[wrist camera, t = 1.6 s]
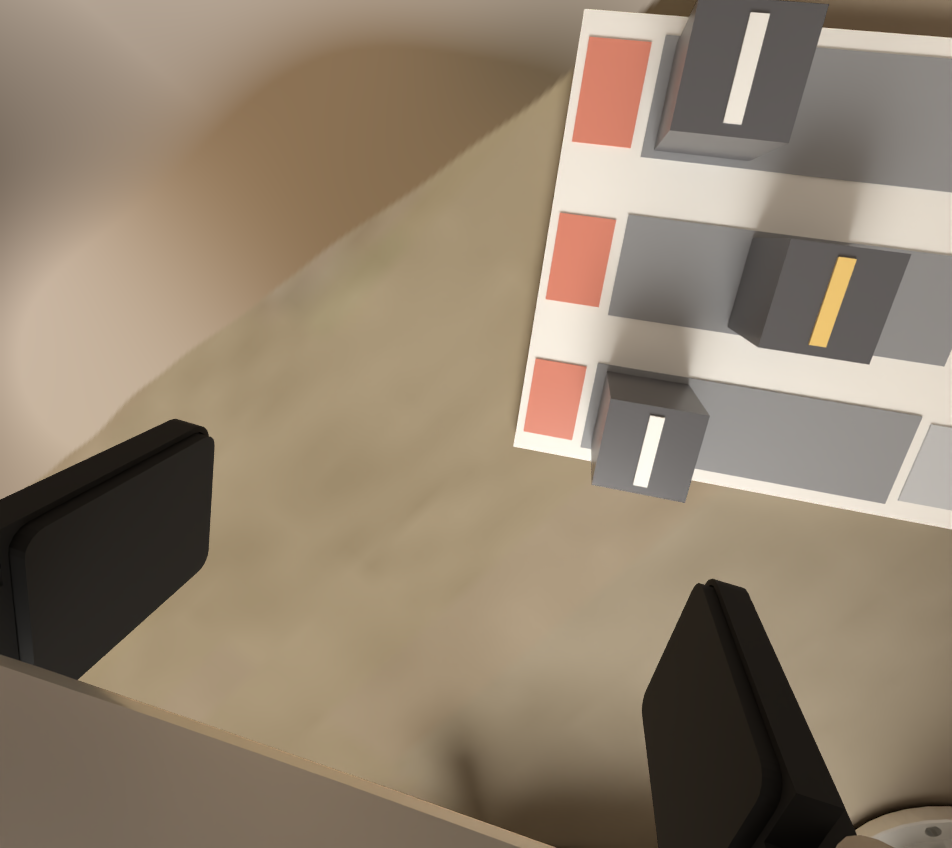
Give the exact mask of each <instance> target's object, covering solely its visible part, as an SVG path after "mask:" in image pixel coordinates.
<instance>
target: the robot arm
mask: <svg viewBox="0 0 952 848" xmlns="http://www.w3.org/2000/svg"><path fill="white" fill-rule="evenodd" d="M213 463H214V440H213V438H211V437H209V434H208V432H207V430H206V429H205V428H204V427H202V426H198V425H195V424H192V423H188V422H185V421H182V420H178V419H172V420H169V421H167V422H165V423H163V424H161V425H159V426H157V427H154V428H152V429H150V430H148V431H146V432H144V433H142V434H139V435H137V436H135V437H133V438H131V439H129V440H127V441H125V442H122V443H120V444H118V445H116V446H114V447H112V448H110V449H107V450H105V451H103V452H101V453H99V454H97V455H95V456H93V457H90V458H88V459H86V460H84V461H82V462H80V463H78V464H75V465H73V466H71V467H69V468H67V469H65V470H63V471H61V472H58V473H56V474H54V475H52V476H50V477H48V478H46V479H43V480H41V481H39V482H37V483H35V484H33V485H31V486H28V487H26V488H24V489H22V490H20V491H18V492H16V493H14V494H11V495H9V496H7V497H5V498H3V499H1V500H0V848H556V847H553V846H550V845H547V844H545V843H542V842H539V841H536V840H533V839H531V838H528V837H525V836H522V835H519V834H516V833H514V832H511V831H508V830H505V829H502V828H500V827H497V826H494V825H491V824H488V823H486V822H483V821H480V820H477V819H474V818H472V817H469V816H466V815H463V814H460V813H457V812H455V811H452V810H449V809H446V808H443V807H441V806H438V805H435V804H432V803H429V802H427V801H424V800H421V799H418V798H415V797H413V796H410V795H407V794H404V793H401V792H399V791H396V790H393V789H390V788H387V787H384V786H381V785H379V784H376V783H373V782H370V781H367V780H364V779H361V778H359V777H356V776H353V775H350V774H347V773H344V772H341V771H339V770H336V769H333V768H330V767H327V766H324V765H321V764H319V763H316V762H313V761H310V760H307V759H304V758H301V757H299V756H296V755H293V754H290V753H287V752H284V751H281V750H279V749H276V748H273V747H270V746H267V745H264V744H261V743H258V742H256V741H253V740H250V739H247V738H244V737H241V736H238V735H235V734H233V733H230V732H227V731H224V730H221V729H218V728H215V727H212V726H210V725H207V724H204V723H201V722H198V721H195V720H192V719H189V718H186V717H184V716H181V715H178V714H175V713H172V712H169V711H166V710H163V709H160V708H157V707H154V706H151V705H148V704H146V703H143V702H140V701H137V700H134V699H131V698H128V697H125V696H122V695H119V694H116V693H113V692H111V691H108V690H105V689H102V688H99V687H96V686H93V685H90V684H87V683H84V682H81V681H78V679H79V678H80V677H81V676H82V675H83V674H85V673H86V672H87V671H88V670H89V669H90V668H91V667H92V666H93V665H95V664H96V663H97V662H98V661H99V660H100V659H101V658H102V657H103V656H105V655H106V654H107V653H108V652H109V651H110V650H111V649H112V648H113V647H115V646H116V645H117V644H118V643H119V642H120V641H121V640H122V639H124V638H125V637H126V636H127V635H128V634H129V633H130V632H131V631H132V630H134V629H135V628H136V627H137V626H138V625H139V624H140V623H141V622H142V621H144V620H145V619H146V618H147V617H148V616H149V615H150V614H151V613H153V612H154V611H155V610H156V609H157V608H158V607H159V606H160V605H161V604H163V603H164V602H165V601H166V600H167V599H168V598H169V597H170V596H171V595H173V594H174V593H175V592H176V591H177V590H178V589H179V588H180V587H181V586H183V585H184V584H185V583H186V582H187V581H188V580H189V579H190V578H192V577H193V576H194V575H195V574H196V573H197V572H198V571H199V570H200V569H201V568H202V566H203V565H204V563H205V561H206V559H207V556H208V549H209V532H210V515H211V498H212V480H213ZM642 717H643V725H644V733H645V742H646V750H647V758H648V766H649V774H650V782H651V791H652V799H653V807H654V815H655V823H656V831H657V839H658V848H952V806H926V807H918V808H910V809H904V810H900V811H896V812H892V813H889V814H885V815H883V816H880V817H878V818H876V819H873V820H871V821H869V822H867V823H865V824H864V825H862V826H861V827H859V828H858V829H856V830H855V829H854V827H853V825H852V822H851V820H850V818H849V816H848V814H847V811H846V809H845V806H844V804H843V802H842V800H841V798H840V795H839V793H838V791H837V789H836V787H835V784H834V782H833V780H832V778H831V775H830V773H829V771H828V769H827V767H826V764H825V762H824V760H823V758H822V756H821V753H820V751H819V749H818V747H817V745H816V742H815V740H814V738H813V736H812V733H811V731H810V729H809V727H808V725H807V722H806V720H805V718H804V716H803V714H802V711H801V709H800V707H799V705H798V702H797V700H796V698H795V696H794V694H793V691H792V689H791V687H790V685H789V683H788V680H787V678H786V676H785V674H784V672H783V669H782V667H781V665H780V663H779V660H778V658H777V656H776V654H775V652H774V649H773V647H772V645H771V643H770V641H769V638H768V636H767V634H766V632H765V630H764V627H763V625H762V623H761V621H760V618H759V616H758V614H757V612H756V610H755V607H754V605H753V603H752V601H751V599H750V596H749V594H748V592H747V591H746V589H744V588H742V587H738V586H735V585H732V584H728V583H725V582H721V581H718V580H715V579H710V580H708V581H707V583H706V584H705V585H703V584H700V583H698V584H696V585H695V586H694V588H693V590H692V592H691V594H690V596H689V598H688V601H687V603H686V605H685V607H684V609H683V611H682V614H681V616H680V618H679V620H678V622H677V624H676V627H675V629H674V631H673V633H672V635H671V637H670V640H669V642H668V644H667V646H666V648H665V650H664V653H663V655H662V657H661V659H660V661H659V663H658V666H657V668H656V670H655V672H654V674H653V676H652V679H651V681H650V683H649V685H648V687H647V690H646V692H645V695H644V699H643V704H642Z"/></svg>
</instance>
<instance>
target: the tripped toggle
mask: <svg viewBox="0 0 952 848" xmlns="http://www.w3.org/2000/svg"><path fill="white" fill-rule="evenodd" d="M910 257H911V254H907V253H900V252H892V251H884V250H876V249H869V248H861V247H853V246H845V245H838V244H830V243H822V242H814V241H807V240H799V239H790V238H753V239H752V242H751V246H750V249H749V253H748V256H747V260H746V263H745V267H744V271H743V274H742V278H741V281H740V285H739V288H738V292H737V295H736V299H735V302H734V306H733V309H732V313H731V316H730V320H729V323H728V328H730V329H731V330H733V331H734V332H736V333H737V334H739V335H740V336H742V337H743V338H745V339H746V340H748V341H749V342H751V343H752V344H754V345H755V346H757V347H758V348H765V349H771V350H778V351H784V352H791V353H797V354H804V355H810V356H816V357H823V358H829V359H836V360H842V361H849V362H855V363H861V364H868V365H869V364H870V362H871V359H872V356H873V354H874V351H875V349H876V346H877V343H878V341H879V338H880V336H881V333H882V330H883V328H884V325H885V322H886V320H887V317H888V315H889V312H890V309H891V307H892V304H893V302H894V299H895V296H896V294H897V291H898V288H899V286H900V283H901V281H902V278H903V275H904V273H905V270H906V268H907V265H908V262H909V260H910Z"/></svg>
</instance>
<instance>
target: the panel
mask: <svg viewBox="0 0 952 848" xmlns="http://www.w3.org/2000/svg"><path fill="white" fill-rule="evenodd" d="M828 6H829V4H819V3H806V2H792V1H779V0H697V1H696V4H695V6H694V8H693V10H692V12H691V14H690V16H689V17H683V16H670V15H658V14H645V13H632V12H619V11H607V10H594V9H584V15H583V20H582V26H581V33H580V39H579V45H578V52H577V58H576V64H575V70H574V76H573V82H572V88H571V94H570V101H569V107H568V113H567V119H566V125H565V132H564V138H563V144H562V150H561V156H560V162H559V169H558V175H557V181H556V187H555V193H554V200H553V206H552V212H551V218H550V224H549V230H548V237H547V243H546V249H545V255H544V261H543V268H542V274H541V280H540V286H539V292H538V298H537V305H536V311H535V317H534V323H533V329H532V336H531V342H530V348H529V354H528V360H527V366H526V373H525V379H524V385H523V391H522V397H521V404H520V410H519V416H518V422H517V428H516V434H515V441H514V447H519V448H524V449H530V450H535V451H540V452H546V453H551V454H556V455H561V456H567V457H572V458H577V459H583V460H588V461H591V475H592V485H596V486H601V487H606V488H611V489H617V490H622V491H627V492H632V493H637V494H642V495H647V496H652V497H658V498H663V499H668V500H673V501H678V502H683V503H685V501H686V497H687V494H688V490H689V487H690V483H691V480H694V481H699V482H704V483H709V484H715V485H720V486H725V487H731V488H736V489H741V490H746V491H752V492H757V493H762V494H768V495H773V496H778V497H783V498H789V499H794V500H799V501H805V502H810V503H815V504H820V505H826V506H831V507H836V508H842V509H847V510H852V511H857V512H863V513H868V514H873V515H879V516H884V517H889V518H894V519H900V520H905V521H910V522H916V523H921V524H926V525H931V526H937V527H942V528H947V529H952V38H947V37H934V36H922V35H909V34H897V33H884V32H871V31H859V30H846V29H834V28H822V27H823V23H824V20H825V16H826V13H827V9H828ZM753 238H790V239H799V240H807V241H814V242H822V243H830V244H838V245H845V246H853V247H861V248H869V249H876V250H884V251H892V252H900V253H907V254H911V257H910V260H909V262H908V265H907V268H906V270H905V273H904V275H903V278H902V281H901V283H900V286H899V288H898V291H897V294H896V296H895V299H894V302H893V304H892V307H891V309H890V312H889V315H888V317H887V320H886V322H885V325H884V328H883V330H882V333H881V336H880V338H879V341H878V343H877V346H876V349H875V351H874V354H873V356H872V359H871V362H870V364H869V365H868V364H861V363H855V362H849V361H842V360H836V359H829V358H823V357H816V356H810V355H804V354H797V353H791V352H784V351H778V350H771V349H765V348H758V347H757V346H755V345H754V344H752V343H751V342H749V341H748V340H746V339H745V338H743V337H742V336H740V335H739V334H737V333H736V332H734V331H733V330H731V329H730V328H728V323H729V320H730V316H731V313H732V309H733V306H734V302H735V299H736V295H737V292H738V288H739V285H740V281H741V278H742V274H743V271H744V267H745V263H746V260H747V256H748V253H749V249H750V246H751V242H752V239H753Z"/></svg>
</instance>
